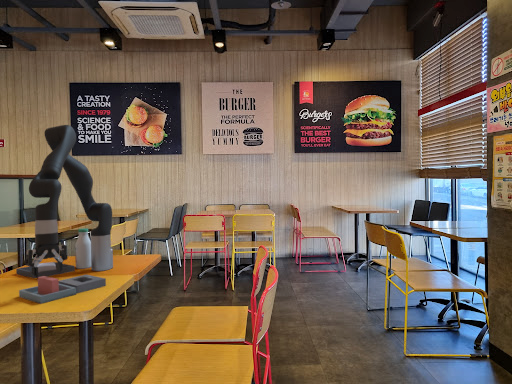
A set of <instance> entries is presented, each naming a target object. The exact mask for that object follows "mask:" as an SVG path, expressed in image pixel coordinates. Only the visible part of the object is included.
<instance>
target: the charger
mask: <svg viewBox="0 0 512 384" xmlns="http://www.w3.org/2000/svg"><path fill="white" fill-rule="evenodd" d="M54 262H55V261H51V262H42V263H41V262H40V263H39V264H38V266H37V267H38V272H44V271H49V270H54V269H57V268H56V266H55V263H54Z"/></svg>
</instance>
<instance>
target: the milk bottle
mask: <svg viewBox="0 0 512 384" xmlns="http://www.w3.org/2000/svg"><path fill="white" fill-rule="evenodd" d="M77 233H78V237H77V240H76V242H75V245H74V247H75V249H74V250H75V251H74V252H75V256H74V257H75V268H76V269H79V270H80V269H84V270H85V269H91V238H90V237H89V235H88V234H89V229H88V228H79V229H78V230H77Z"/></svg>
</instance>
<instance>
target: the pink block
mask: <svg viewBox="0 0 512 384" xmlns="http://www.w3.org/2000/svg"><path fill="white" fill-rule="evenodd" d="M59 281H60V280H59V278H55V277H52V276H48V277H46V276H42V277H38V279H37V286H38V293H40V294H44V295H47V294H51V293H55V292H59Z"/></svg>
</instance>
